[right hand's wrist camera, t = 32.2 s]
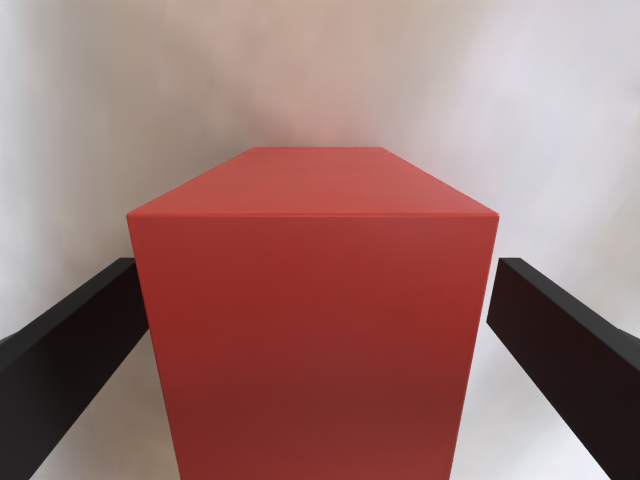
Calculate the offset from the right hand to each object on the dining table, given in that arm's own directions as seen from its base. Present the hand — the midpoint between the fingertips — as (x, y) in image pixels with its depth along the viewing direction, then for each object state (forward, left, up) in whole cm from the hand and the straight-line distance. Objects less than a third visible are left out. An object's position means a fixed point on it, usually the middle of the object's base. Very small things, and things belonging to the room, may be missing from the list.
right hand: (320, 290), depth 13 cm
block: (0, 0, -6) cm, 6 cm away
